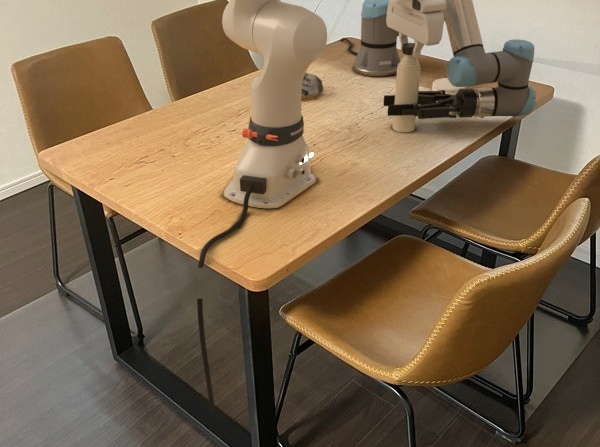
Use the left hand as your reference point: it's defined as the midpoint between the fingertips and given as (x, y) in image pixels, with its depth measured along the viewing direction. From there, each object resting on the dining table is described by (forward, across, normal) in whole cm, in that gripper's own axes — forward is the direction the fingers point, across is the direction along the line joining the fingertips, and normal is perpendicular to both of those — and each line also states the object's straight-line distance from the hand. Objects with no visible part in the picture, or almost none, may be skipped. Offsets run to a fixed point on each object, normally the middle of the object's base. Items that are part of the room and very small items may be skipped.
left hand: (410, 53), depth 155 cm
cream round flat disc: (+20, -16, +25) cm, 35 cm away
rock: (+20, -36, -15) cm, 44 cm away
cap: (-2, 0, 0) cm, 2 cm away
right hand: (+14, -2, -5) cm, 14 cm away
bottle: (+20, 0, 0) cm, 20 cm away
